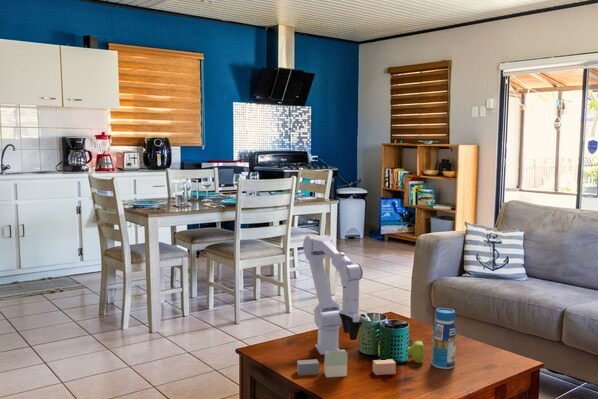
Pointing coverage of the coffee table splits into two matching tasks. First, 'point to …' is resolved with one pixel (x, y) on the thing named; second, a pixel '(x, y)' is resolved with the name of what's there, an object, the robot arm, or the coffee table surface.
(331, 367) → the brick cream
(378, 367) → the brick terracotta
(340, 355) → the brick sage
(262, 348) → the coffee table surface
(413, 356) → the dumbbell
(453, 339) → the beverage bottle
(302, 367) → the brick charcoal
